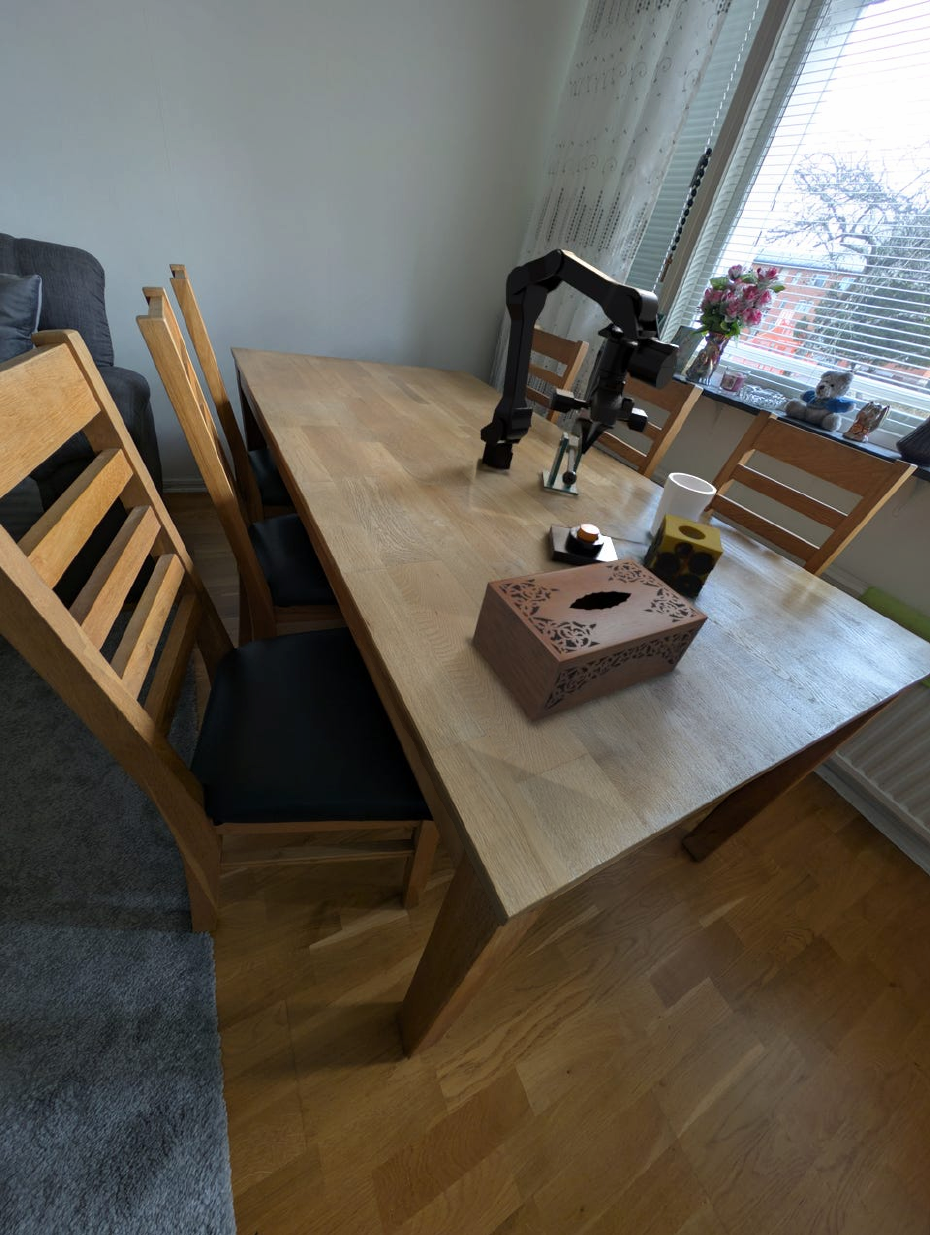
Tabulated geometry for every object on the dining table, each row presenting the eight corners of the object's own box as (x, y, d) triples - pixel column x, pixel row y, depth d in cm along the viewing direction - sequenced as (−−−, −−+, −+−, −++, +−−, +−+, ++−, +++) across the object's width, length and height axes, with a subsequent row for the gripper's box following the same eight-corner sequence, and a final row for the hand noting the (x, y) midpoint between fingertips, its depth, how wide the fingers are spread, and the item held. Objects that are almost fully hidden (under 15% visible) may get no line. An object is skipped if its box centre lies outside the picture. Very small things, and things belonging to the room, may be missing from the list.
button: (578, 539, 87) (581, 531, 86) (576, 530, 90) (579, 522, 89) (597, 543, 87) (600, 535, 86) (594, 534, 90) (598, 526, 89)
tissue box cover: (532, 722, 56) (559, 661, 50) (471, 642, 65) (488, 582, 59) (673, 670, 69) (708, 616, 63) (606, 609, 78) (631, 557, 72)
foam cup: (691, 544, 104) (722, 488, 96) (675, 556, 98) (707, 497, 90) (652, 524, 108) (679, 469, 100) (634, 534, 102) (661, 477, 94)
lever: (573, 490, 105) (578, 480, 102) (559, 487, 105) (564, 476, 102) (576, 447, 111) (581, 436, 108) (563, 444, 111) (567, 433, 108)
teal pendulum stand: (576, 498, 111) (594, 448, 104) (543, 491, 111) (558, 440, 104) (572, 481, 119) (589, 434, 112) (541, 474, 119) (555, 426, 112)
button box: (550, 560, 87) (557, 541, 84) (547, 534, 94) (554, 516, 92) (614, 574, 87) (623, 555, 85) (606, 547, 95) (614, 529, 93)
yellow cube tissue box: (694, 574, 93) (720, 529, 87) (697, 601, 86) (726, 553, 79) (642, 556, 95) (665, 511, 89) (641, 581, 87) (665, 533, 81)
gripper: (566, 367, 81) (538, 456, 91) (671, 394, 82) (633, 479, 92) (562, 355, 90) (537, 437, 100) (657, 379, 91) (623, 459, 100)
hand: (582, 453), depth 98 cm, fingers closed
